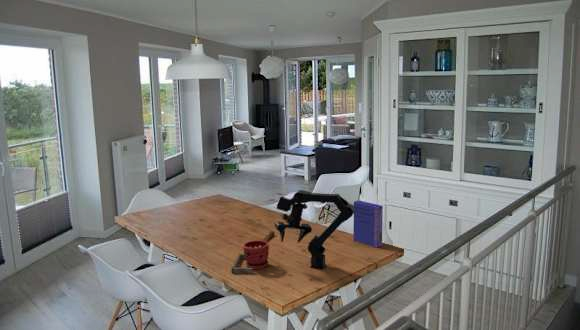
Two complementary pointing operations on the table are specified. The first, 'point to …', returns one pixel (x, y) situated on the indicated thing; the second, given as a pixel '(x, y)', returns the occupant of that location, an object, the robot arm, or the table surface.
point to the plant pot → (256, 254)
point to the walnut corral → (241, 270)
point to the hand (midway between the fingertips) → (290, 242)
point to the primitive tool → (268, 236)
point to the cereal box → (368, 223)
